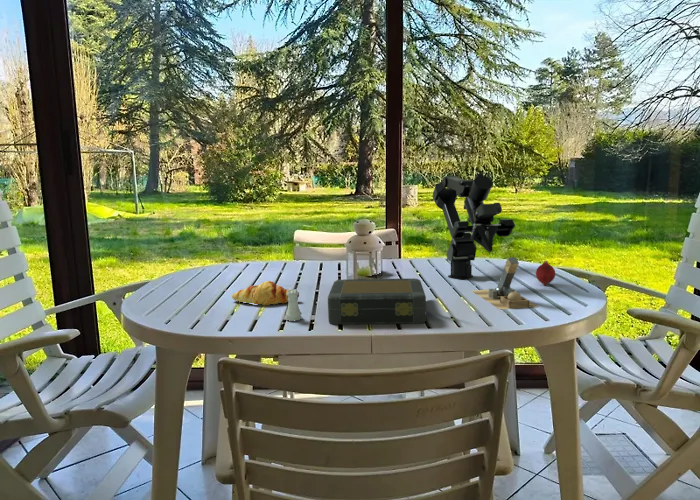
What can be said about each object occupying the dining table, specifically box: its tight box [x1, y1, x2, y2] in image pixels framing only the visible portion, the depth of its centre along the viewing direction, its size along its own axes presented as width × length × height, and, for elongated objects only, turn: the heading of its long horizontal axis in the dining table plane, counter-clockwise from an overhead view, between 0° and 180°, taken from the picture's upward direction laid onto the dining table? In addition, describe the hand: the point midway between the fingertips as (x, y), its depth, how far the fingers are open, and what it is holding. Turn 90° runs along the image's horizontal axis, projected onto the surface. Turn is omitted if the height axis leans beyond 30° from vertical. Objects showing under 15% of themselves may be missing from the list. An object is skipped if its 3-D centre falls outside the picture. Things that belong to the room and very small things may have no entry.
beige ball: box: [508, 291, 523, 301], centre depth 130 cm, size 4×4×4 cm
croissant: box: [231, 280, 300, 306], centre depth 146 cm, size 21×10×8 cm, turn 83°
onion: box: [535, 260, 556, 286], centre depth 156 cm, size 6×6×8 cm
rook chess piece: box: [285, 288, 303, 322], centre depth 128 cm, size 4×4×8 cm
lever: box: [494, 256, 520, 297], centre depth 133 cm, size 5×3×14 cm
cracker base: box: [471, 287, 540, 310], centre depth 137 cm, size 20×11×4 cm, turn 8°
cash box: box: [327, 277, 427, 325], centre depth 132 cm, size 25×20×8 cm
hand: (490, 251), depth 144 cm, fingers closed
